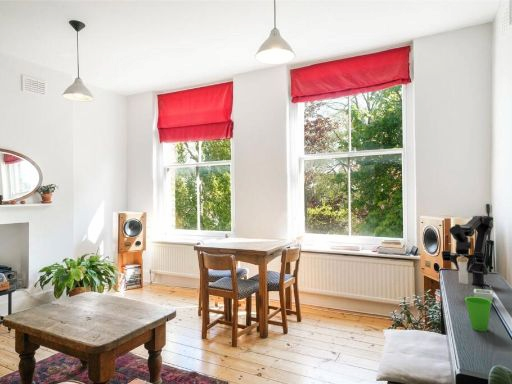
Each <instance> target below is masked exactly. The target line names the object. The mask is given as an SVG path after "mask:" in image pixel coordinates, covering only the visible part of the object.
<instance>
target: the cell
mask: <svg viewBox="0 0 512 384" xmlns="http://www.w3.org/2000/svg"><path fill="white" fill-rule="evenodd" d="M467 262H468V259H467V257H464V256H463V255H461V256H460V257H458V258H457V263H458V270H457V271H458V283H459V284H463V285H464V284H465V285H467V284H469V275H468V274H469V273H468V271H467Z"/></svg>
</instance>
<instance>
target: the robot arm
mask: <svg viewBox="0 0 512 384" xmlns="http://www.w3.org/2000/svg"><path fill="white" fill-rule="evenodd" d="M493 228H494V224H493V221H491V220H490V219H488V218H486V217H484V216H483V215H474V216H472V218H471V219H470V220H469V221H468V222H467V223H465V224H457V223H456V224H455V225H453V226H451V227H450V228H449V233H450V235H451V236H452V238H453V240H455V241H456V242H455V252H451V251H450V250H442V251H441V258H442V261H444V262H445V261H447V262H451V263H453V265H454V266H455V269H456V270H457V271H458V257H460V256H461V255H463V256H464V257H467V271H468V274H471V279H472V280H471V285H473V286H484V287H485V286H486V281H485V276H486V275H488V274H489V269H488V267H487V266H486V262H485V254H484V253H485V249H486V248H485V247H486V243H487V239H488V238H487V237H488V235H489V234H491V233H492V230H493ZM475 232H477V233H476V239H475V243H474V250H473V252H472V254H470V251H469V250H470V249H472V241H469V238H473V236H474V235H475Z"/></svg>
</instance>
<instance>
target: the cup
mask: <svg viewBox="0 0 512 384" xmlns="http://www.w3.org/2000/svg"><path fill="white" fill-rule="evenodd" d="M464 302H465V304H466V308H467V313H468V317H469V320H470V321H469V322H470V325H471V328H472V329H473V330H475V331H478V330H479V331H480V332H486V331H488V329H489V324H490V323H489V322H490V314H491V306H492V304H493V301H491V300H489V299H485V298H480V297H474V296H468V297H465V298H464Z"/></svg>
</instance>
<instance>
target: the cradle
mask: <svg viewBox="0 0 512 384" xmlns="http://www.w3.org/2000/svg"><path fill="white" fill-rule="evenodd" d="M493 296H494V295H493V290H491V289H480V288H473V297H480V298H485V299H489V300H491V301H492V302H493V301H494V299H493Z"/></svg>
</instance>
